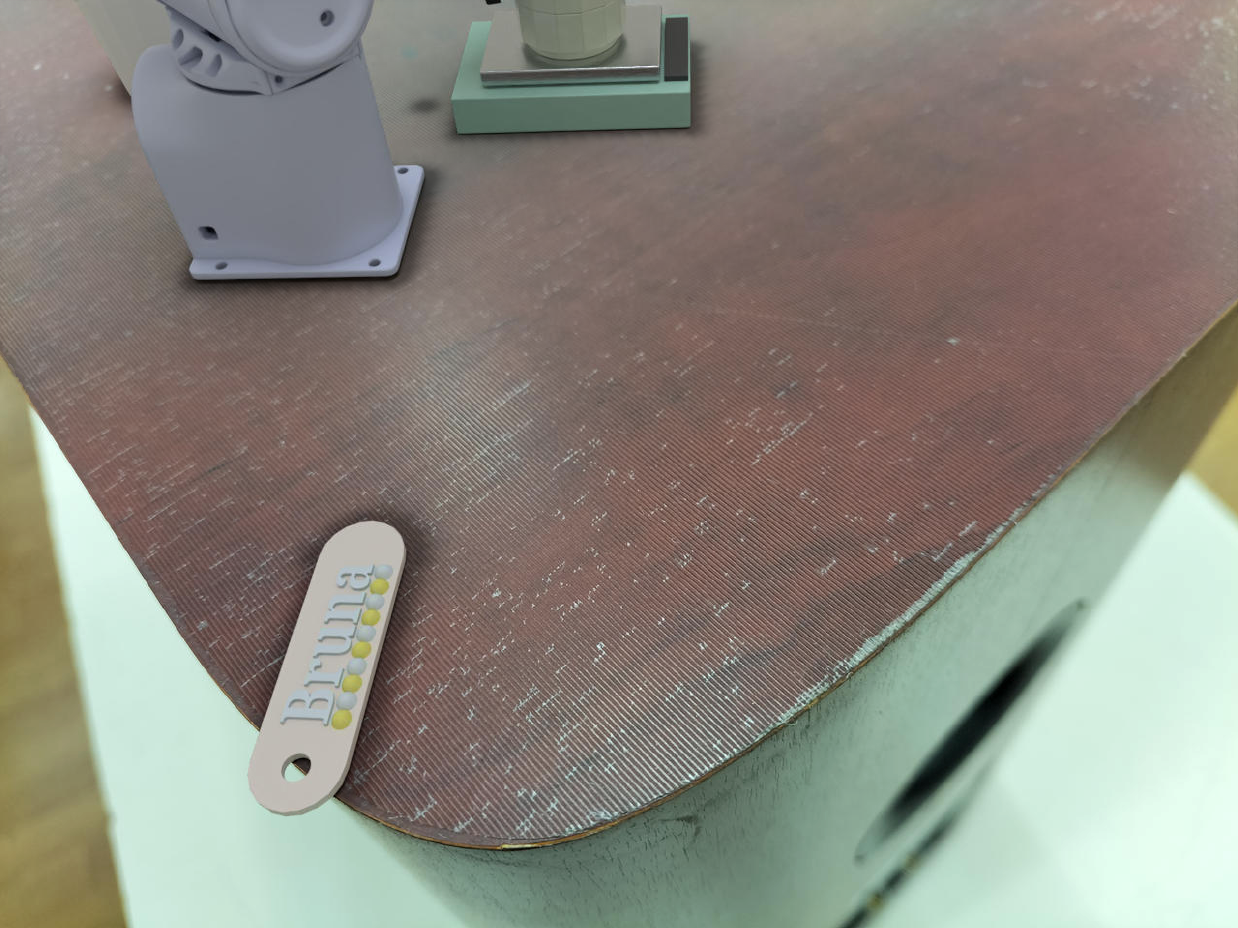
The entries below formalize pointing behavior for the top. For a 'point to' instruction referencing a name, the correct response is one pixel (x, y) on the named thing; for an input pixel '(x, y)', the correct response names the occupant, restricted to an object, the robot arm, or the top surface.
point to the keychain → (328, 669)
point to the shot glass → (126, 30)
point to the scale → (576, 94)
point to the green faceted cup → (570, 26)
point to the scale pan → (620, 63)
